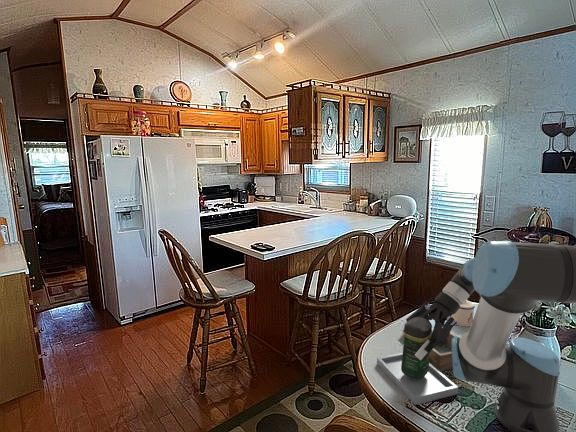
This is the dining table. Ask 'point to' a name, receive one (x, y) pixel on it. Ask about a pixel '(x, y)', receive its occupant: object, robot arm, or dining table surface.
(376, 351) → the dining table surface
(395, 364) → the grey flat rectangular tray
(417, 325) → the coffee jar
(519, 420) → the robot arm
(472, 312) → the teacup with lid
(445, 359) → the walnut tub
